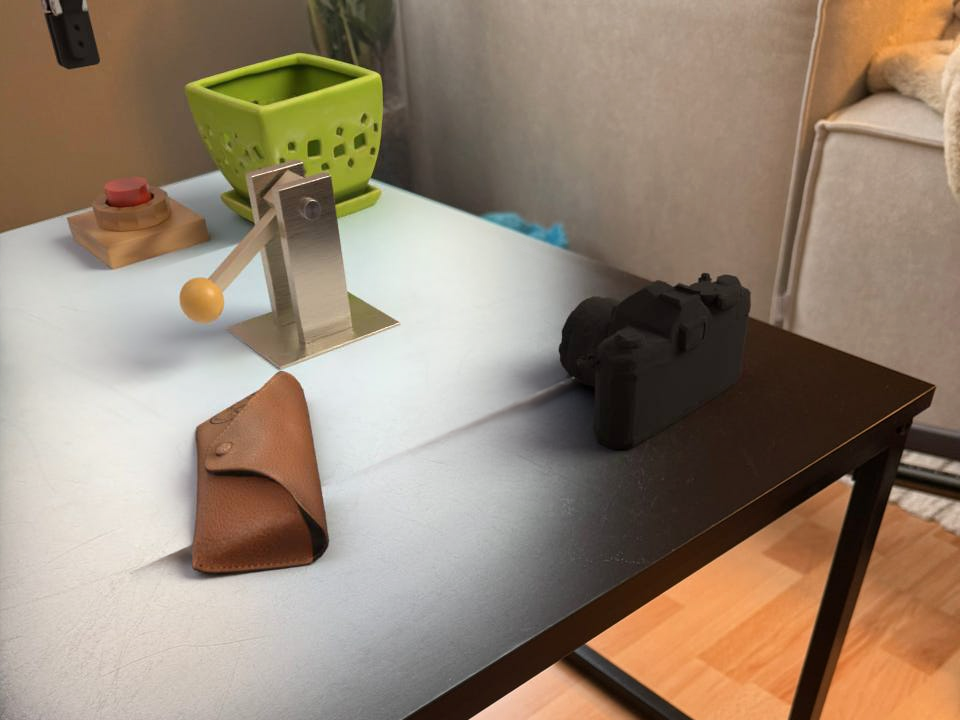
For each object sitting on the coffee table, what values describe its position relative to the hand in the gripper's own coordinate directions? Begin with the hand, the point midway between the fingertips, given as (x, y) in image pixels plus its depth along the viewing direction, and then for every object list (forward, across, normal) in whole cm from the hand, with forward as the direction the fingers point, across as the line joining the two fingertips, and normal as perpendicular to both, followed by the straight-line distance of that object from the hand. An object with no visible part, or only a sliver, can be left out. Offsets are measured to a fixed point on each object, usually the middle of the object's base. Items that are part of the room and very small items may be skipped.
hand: (79, 64), depth 87 cm
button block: (+16, 0, +2) cm, 16 cm away
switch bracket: (+16, +30, +4) cm, 34 cm away
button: (+12, -1, +2) cm, 12 cm away
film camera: (+15, +54, +16) cm, 58 cm away
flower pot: (+15, +6, +17) cm, 23 cm away
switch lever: (+9, +29, 0) cm, 31 cm away
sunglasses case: (+16, +45, -10) cm, 49 cm away
